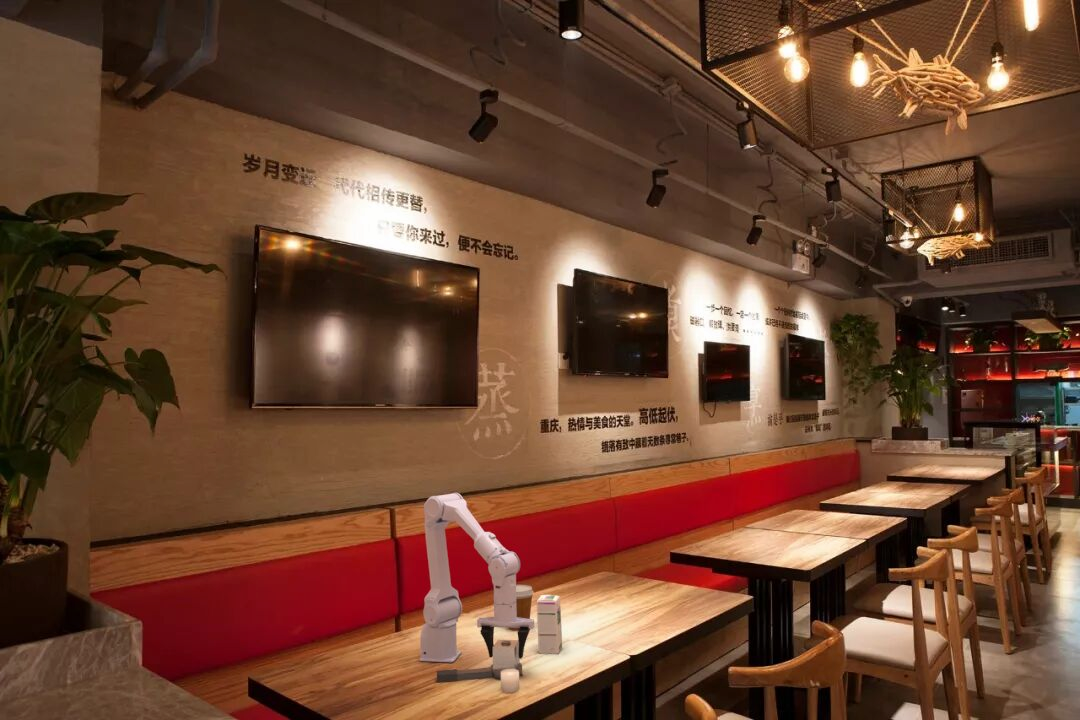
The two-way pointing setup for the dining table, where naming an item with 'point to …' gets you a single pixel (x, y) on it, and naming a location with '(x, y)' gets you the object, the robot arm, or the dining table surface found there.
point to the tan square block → (506, 654)
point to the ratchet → (471, 674)
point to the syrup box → (549, 624)
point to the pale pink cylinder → (509, 680)
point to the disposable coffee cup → (523, 602)
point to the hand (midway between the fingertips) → (506, 656)
